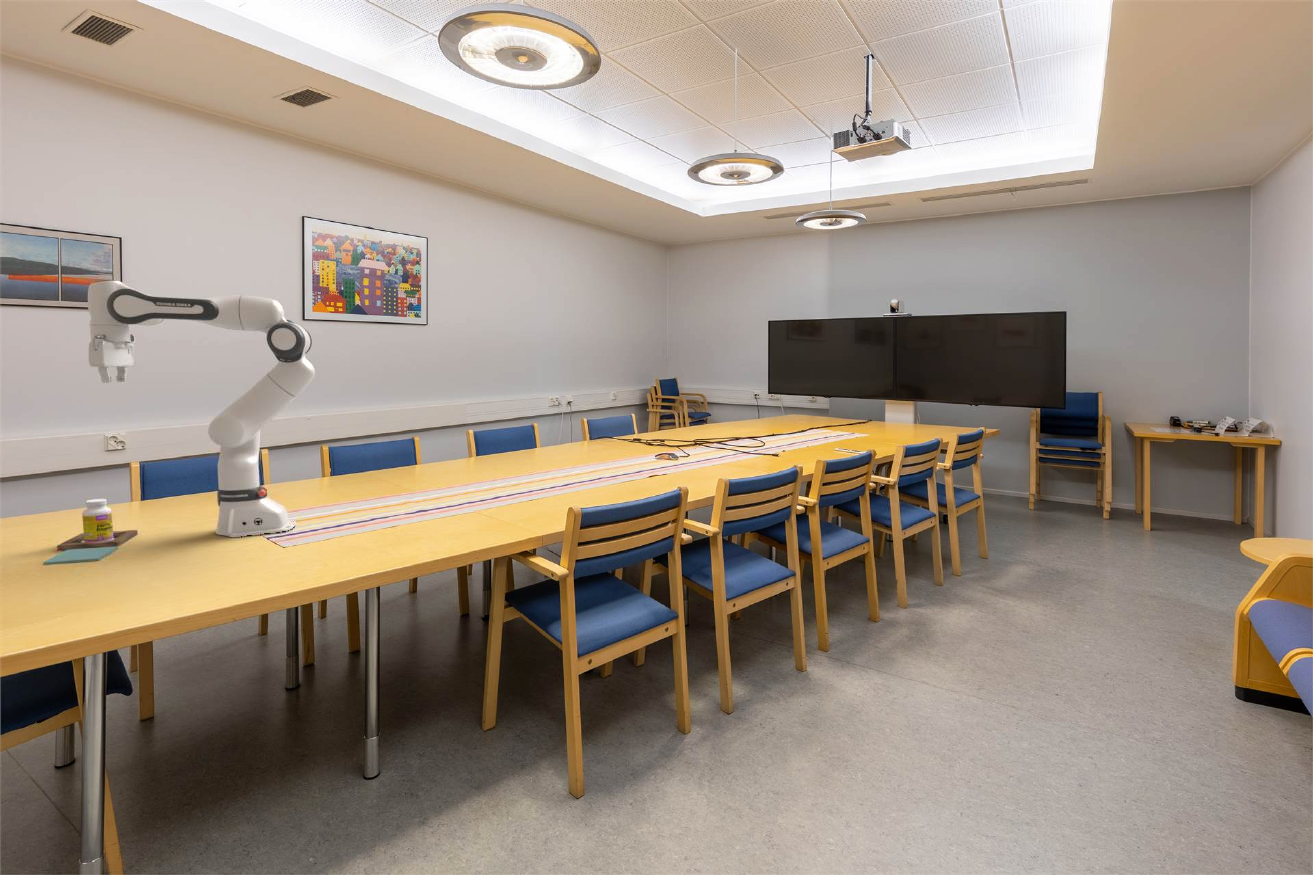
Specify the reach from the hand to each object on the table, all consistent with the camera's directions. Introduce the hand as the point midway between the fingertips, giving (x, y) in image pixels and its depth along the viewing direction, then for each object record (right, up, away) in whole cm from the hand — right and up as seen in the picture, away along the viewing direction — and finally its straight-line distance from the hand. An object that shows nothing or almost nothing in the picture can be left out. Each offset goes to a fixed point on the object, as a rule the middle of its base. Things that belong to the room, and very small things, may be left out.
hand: (114, 382), depth 191 cm
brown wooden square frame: (-4, -48, 0) cm, 48 cm away
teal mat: (+3, -50, -13) cm, 52 cm away
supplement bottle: (-4, -48, 0) cm, 49 cm away
